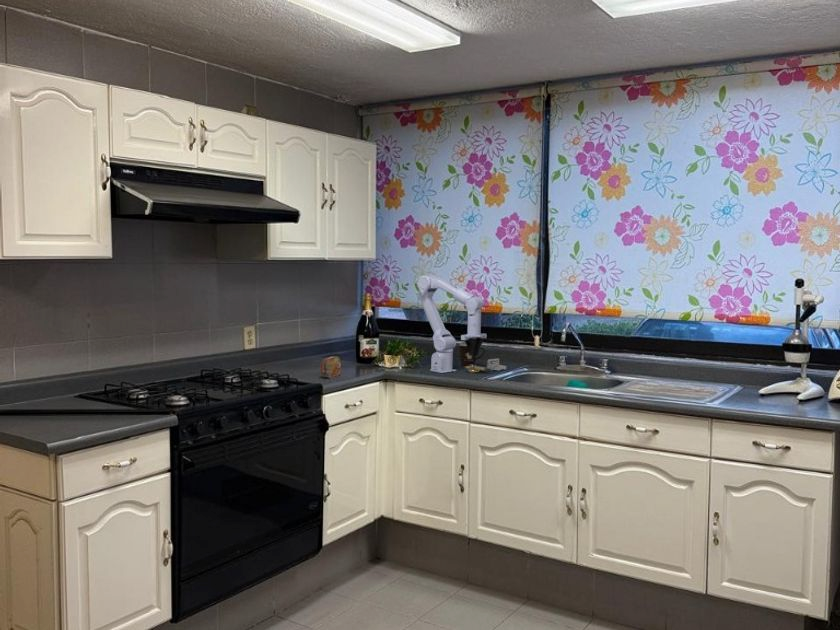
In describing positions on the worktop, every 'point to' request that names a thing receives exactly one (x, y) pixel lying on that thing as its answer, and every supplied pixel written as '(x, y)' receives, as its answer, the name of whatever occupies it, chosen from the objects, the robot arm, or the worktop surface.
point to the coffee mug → (467, 356)
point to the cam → (476, 368)
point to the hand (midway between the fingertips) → (473, 355)
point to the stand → (495, 364)
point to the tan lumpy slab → (331, 367)
